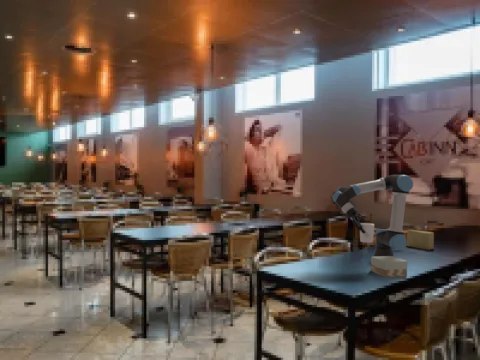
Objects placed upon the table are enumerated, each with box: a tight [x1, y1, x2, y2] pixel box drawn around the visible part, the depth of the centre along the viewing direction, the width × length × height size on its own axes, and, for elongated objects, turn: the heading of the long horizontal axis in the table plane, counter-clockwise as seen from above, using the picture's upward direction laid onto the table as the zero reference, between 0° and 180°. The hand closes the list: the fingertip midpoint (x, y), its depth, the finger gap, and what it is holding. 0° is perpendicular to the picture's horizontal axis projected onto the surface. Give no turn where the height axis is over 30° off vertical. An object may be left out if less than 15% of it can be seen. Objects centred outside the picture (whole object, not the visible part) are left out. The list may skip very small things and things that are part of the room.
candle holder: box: [359, 222, 375, 244], centre depth 278 cm, size 10×10×12 cm
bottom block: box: [370, 263, 408, 278], centre depth 270 cm, size 16×16×5 cm
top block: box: [370, 256, 408, 270], centre depth 270 cm, size 16×16×5 cm
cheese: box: [406, 229, 435, 251], centre depth 368 cm, size 22×10×15 cm, turn 43°
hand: (371, 235), depth 276 cm, fingers closed on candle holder, 9 cm apart
